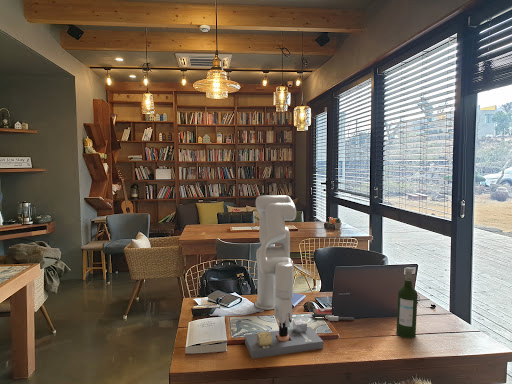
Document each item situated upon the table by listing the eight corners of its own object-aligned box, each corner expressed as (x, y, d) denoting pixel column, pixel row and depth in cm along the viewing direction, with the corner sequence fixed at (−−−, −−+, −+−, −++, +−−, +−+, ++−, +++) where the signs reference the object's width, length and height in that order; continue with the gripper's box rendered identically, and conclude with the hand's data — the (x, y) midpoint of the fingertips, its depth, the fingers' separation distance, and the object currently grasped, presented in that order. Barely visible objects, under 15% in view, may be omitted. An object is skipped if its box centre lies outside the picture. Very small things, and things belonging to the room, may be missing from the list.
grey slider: (292, 328, 150) (292, 320, 150) (303, 326, 152) (303, 319, 151) (296, 332, 146) (296, 324, 146) (306, 331, 148) (307, 323, 148)
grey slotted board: (244, 341, 145) (244, 334, 145) (309, 333, 153) (310, 326, 153) (252, 358, 133) (252, 350, 133) (323, 348, 141) (323, 340, 141)
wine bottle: (413, 331, 156) (416, 266, 153) (417, 339, 148) (420, 271, 146) (395, 328, 158) (397, 264, 155) (397, 337, 150) (400, 270, 148)
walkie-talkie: (313, 321, 165) (354, 322, 165) (313, 312, 165) (355, 313, 165) (310, 313, 174) (350, 314, 174) (310, 305, 174) (350, 305, 173)
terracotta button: (275, 339, 145) (275, 333, 144) (286, 338, 146) (286, 332, 146) (279, 345, 140) (279, 339, 140) (290, 343, 141) (290, 337, 141)
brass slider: (256, 341, 139) (256, 332, 139) (268, 339, 141) (268, 331, 140) (259, 346, 135) (259, 337, 135) (271, 344, 137) (271, 336, 136)
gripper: (269, 287, 147) (269, 328, 149) (281, 300, 133) (280, 346, 135) (286, 285, 149) (285, 326, 151) (299, 298, 135) (298, 343, 137)
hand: (283, 335), depth 143 cm, fingers closed
